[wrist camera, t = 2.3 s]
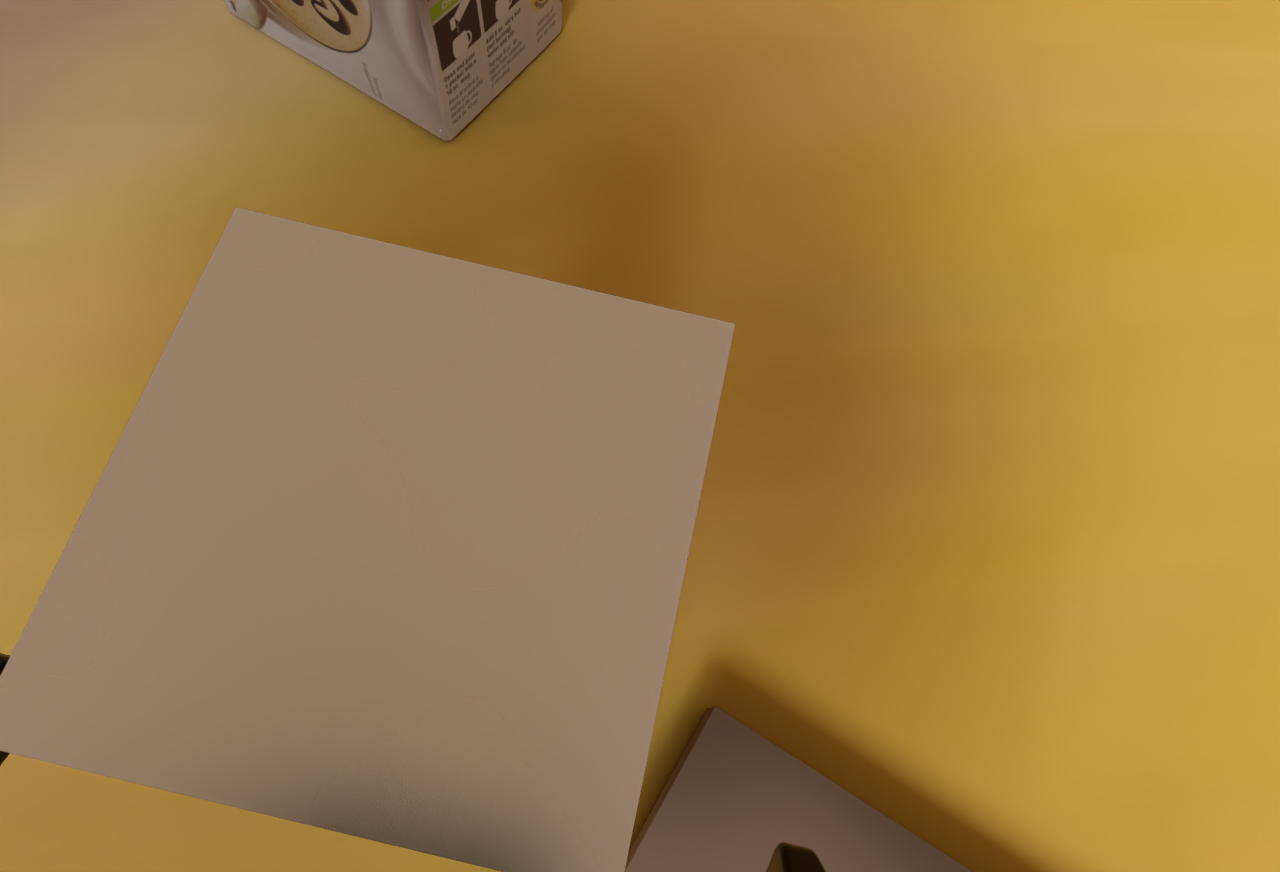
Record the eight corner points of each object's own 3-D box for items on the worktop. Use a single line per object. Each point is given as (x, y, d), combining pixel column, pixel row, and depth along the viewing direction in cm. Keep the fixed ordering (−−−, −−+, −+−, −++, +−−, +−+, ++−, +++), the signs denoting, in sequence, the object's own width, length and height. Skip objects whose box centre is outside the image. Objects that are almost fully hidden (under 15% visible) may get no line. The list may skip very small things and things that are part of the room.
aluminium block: (589, 798, 18) (618, 898, 6) (372, 745, 18) (-35, 742, 6) (637, 581, 20) (734, 323, 8) (441, 535, 20) (234, 207, 8)
